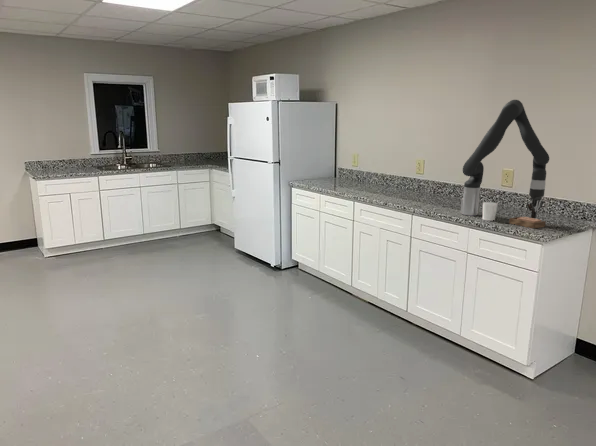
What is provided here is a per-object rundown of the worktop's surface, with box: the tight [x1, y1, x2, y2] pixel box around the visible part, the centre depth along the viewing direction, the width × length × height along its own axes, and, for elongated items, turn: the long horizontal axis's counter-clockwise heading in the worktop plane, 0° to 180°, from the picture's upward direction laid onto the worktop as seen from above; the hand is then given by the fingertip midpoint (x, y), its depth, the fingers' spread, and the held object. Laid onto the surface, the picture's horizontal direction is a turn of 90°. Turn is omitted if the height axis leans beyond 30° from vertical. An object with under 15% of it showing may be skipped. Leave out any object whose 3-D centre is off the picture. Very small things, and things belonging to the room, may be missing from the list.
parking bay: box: [508, 216, 546, 229], centre depth 260 cm, size 15×10×3 cm
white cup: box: [482, 201, 498, 222], centre depth 272 cm, size 8×8×10 cm
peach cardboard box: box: [517, 216, 542, 223], centre depth 260 cm, size 10×7×4 cm
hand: (533, 217), depth 263 cm, fingers closed
